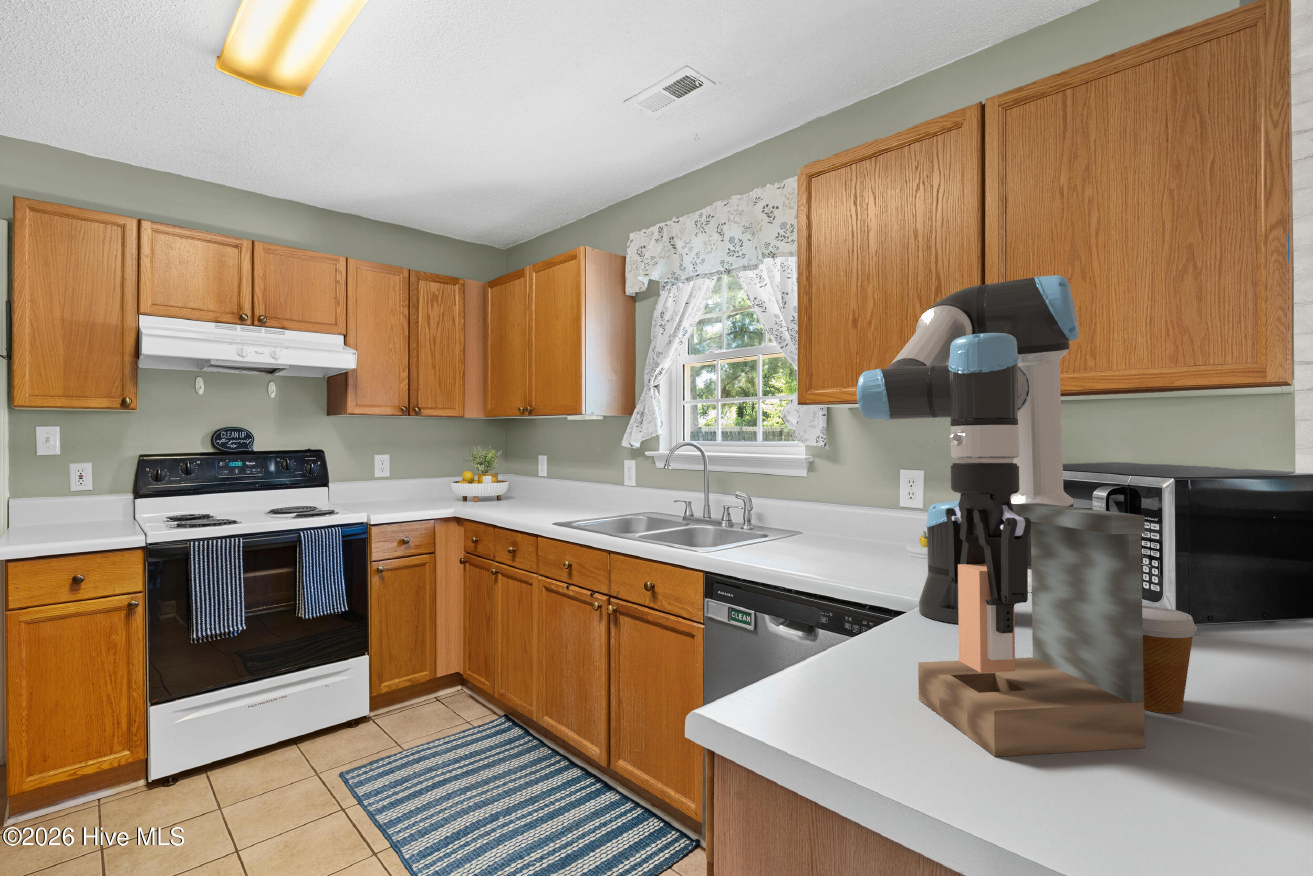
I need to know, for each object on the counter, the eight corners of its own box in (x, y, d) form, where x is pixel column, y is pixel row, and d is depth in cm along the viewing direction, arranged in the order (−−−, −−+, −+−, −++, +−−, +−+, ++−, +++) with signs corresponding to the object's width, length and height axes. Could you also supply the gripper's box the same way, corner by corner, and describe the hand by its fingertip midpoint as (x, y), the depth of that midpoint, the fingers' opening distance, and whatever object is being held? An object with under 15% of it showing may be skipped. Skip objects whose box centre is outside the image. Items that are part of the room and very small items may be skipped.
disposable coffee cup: (1100, 704, 84) (1098, 612, 85) (1115, 685, 91) (1114, 600, 91) (1194, 726, 78) (1192, 626, 78) (1203, 704, 84) (1201, 612, 85)
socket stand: (916, 698, 87) (914, 504, 87) (1040, 692, 89) (1038, 503, 89) (997, 759, 70) (994, 518, 70) (1148, 749, 72) (1144, 515, 72)
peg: (959, 660, 81) (957, 564, 81) (991, 659, 81) (990, 563, 81) (980, 672, 76) (979, 570, 76) (1015, 671, 77) (1013, 570, 77)
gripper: (918, 460, 87) (920, 633, 87) (1001, 462, 70) (1004, 678, 70) (970, 459, 88) (972, 631, 88) (1065, 462, 71) (1068, 675, 70)
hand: (986, 651), depth 79 cm, fingers closed on peg, 4 cm apart
